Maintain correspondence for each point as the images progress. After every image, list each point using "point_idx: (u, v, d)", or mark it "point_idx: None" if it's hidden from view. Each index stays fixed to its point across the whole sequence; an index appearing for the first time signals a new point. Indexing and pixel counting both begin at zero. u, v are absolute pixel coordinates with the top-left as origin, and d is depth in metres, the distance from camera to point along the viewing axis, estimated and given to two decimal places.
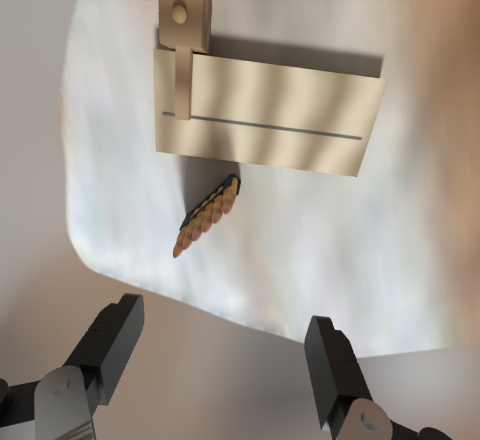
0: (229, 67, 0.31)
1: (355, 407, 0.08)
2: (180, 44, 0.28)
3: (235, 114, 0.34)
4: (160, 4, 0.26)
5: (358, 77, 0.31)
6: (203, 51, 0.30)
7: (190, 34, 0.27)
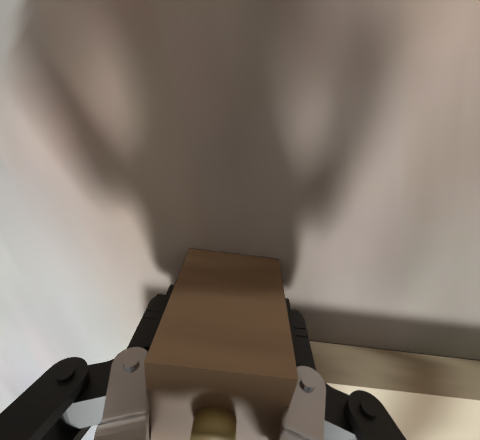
0: None
1: None
2: None
3: None
4: (152, 400, 0.08)
5: None
6: None
7: None
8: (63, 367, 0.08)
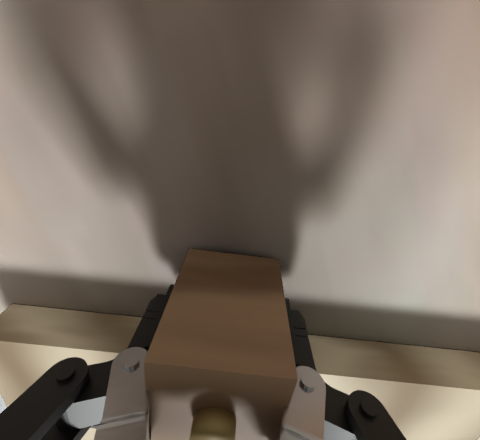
0: None
1: None
2: None
3: None
4: (151, 400, 0.08)
5: (449, 389, 0.14)
6: None
7: None
8: (63, 367, 0.08)
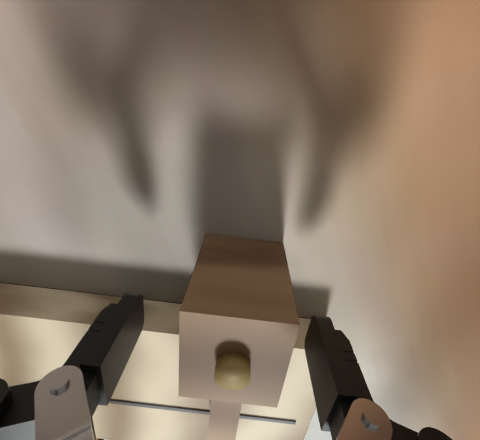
0: (10, 326, 0.15)
1: (355, 407, 0.08)
2: (228, 399, 0.12)
3: None
4: (183, 346, 0.10)
5: None
6: None
7: (254, 389, 0.11)
8: None
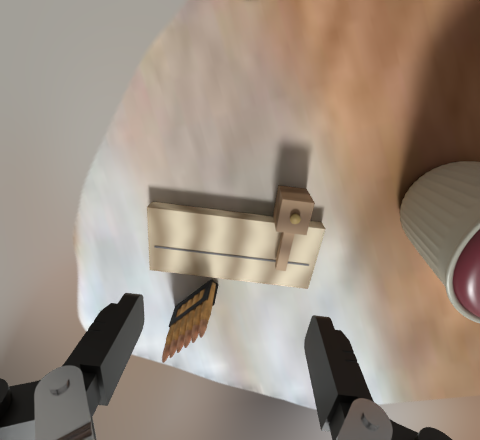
0: (204, 219, 0.41)
1: (355, 407, 0.08)
2: (291, 232, 0.38)
3: (210, 248, 0.43)
4: (281, 211, 0.36)
5: None
6: None
7: (300, 227, 0.37)
8: None
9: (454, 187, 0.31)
